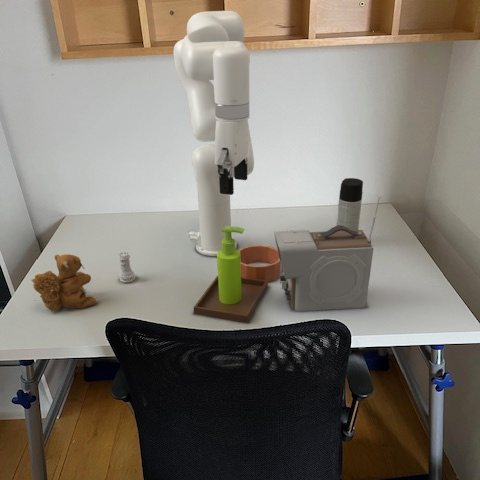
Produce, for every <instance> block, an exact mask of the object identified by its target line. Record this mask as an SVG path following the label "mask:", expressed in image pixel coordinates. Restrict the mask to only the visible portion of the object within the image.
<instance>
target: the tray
mask: <svg viewBox="0 0 480 480" xmlns="http://www.w3.org/2000/svg"><path fill="white" fill-rule="evenodd" d="M268 288H269V282H268V281H265V280H258V279H251V278H244V277H241V296H242V299H241V301H240V302H238V303H236V304H224V303H222V302H221V301H220V300H219V285H218V275H216V277H215V278H214V280H213V281H212V282H211V284H209V286H208V287H207V289H206V290H205V292H204V293H203V294H202V295H201V296H200V298H199V299H198V301H197V302H196V303H195V304H194V306H193V315H198V316H205V317H211V318H215V319H216V318H217V319H221V320H229V321H233V322H238V323H239V322H241V323H245V324H248V322H250V319H251V318H252V316H253V314H254V312H255V311H256V308H257V307H258V305H259V304H260V302H261V300H262V298H263V297H264V295H265V293H266V291H267V290H268Z"/></svg>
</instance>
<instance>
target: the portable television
mask: <svg viewBox="0 0 480 480" xmlns="http://www.w3.org/2000/svg"><path fill="white" fill-rule="evenodd" d="M377 198H378V200H377V204H376V207H375V212H374V216H373V219H372V223H371V226H370V232H369V236H368V237H367V234H366V233H365V232H364V230H363V229H358V230H350V229H348V228H347V227H345V226H342V225H338V226H337V225H335V226H333V227H331V228H329V229H328V230H326V231H310V230H309V229H303V230H301V229H300V230H283V231H282V230H279V231H273V235H274V239H275V244H276V249H277V250H278V254H279V259H280V263H281V266H282V273H281V274H280V277H279V283H280V284H281V290H283V291H284V295H285V296H286V301H289V304H290V307H291V310H295V311H296V312H308V311H309V312H310V311H325V310H326V311H327V310H343V309H361V308H366V307H367V301H368V293H369V286H370V276H371V270H372V263H373V255H374V247H373V245H372V235H373V230H374V226H375V222H376V221H375V220H376V218H377V217H376V215H377V212H378V207H379V204H380V201H381V200H380V199H381V195H379V196H378V197H377Z"/></svg>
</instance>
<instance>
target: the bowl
mask: <svg viewBox="0 0 480 480" xmlns="http://www.w3.org/2000/svg"><path fill="white" fill-rule="evenodd" d="M237 250H238V251H240V253H241V277H244V278H251V279H258V280H265V281H268V283H269V282H274V281H275V280H277V279H278V278H280V274H281V273H283V270H282V266H281V263H280V259H279V254H278V249H277V247H276V248H275V247H273V246H270V245H261V244H255V245H248V246H245V247H242V248H240V249H237ZM255 262H257V263H258V262H262V263H268V264H265V265H253V264H252V265H251V264H250V263H255Z"/></svg>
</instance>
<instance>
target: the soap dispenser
mask: <svg viewBox="0 0 480 480" xmlns="http://www.w3.org/2000/svg"><path fill="white" fill-rule="evenodd" d="M221 231H222V232H224V233H225V238H224V239H223V240H222V241H221V243H222V250H220V251H219V252H218V253H217V256H216V262H217V276H218V285H219V300H220V301H221V302H222V303H224V304H236V303H238V302H240V301H241V299H242V296H241V253H240V251H238V250H239V249H237V248H236V249H235V241H236V240H235V238H233V237H232V233H237V234H243V233H245V228H242V227H239V226H231V227H223V228H222V230H221Z"/></svg>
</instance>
